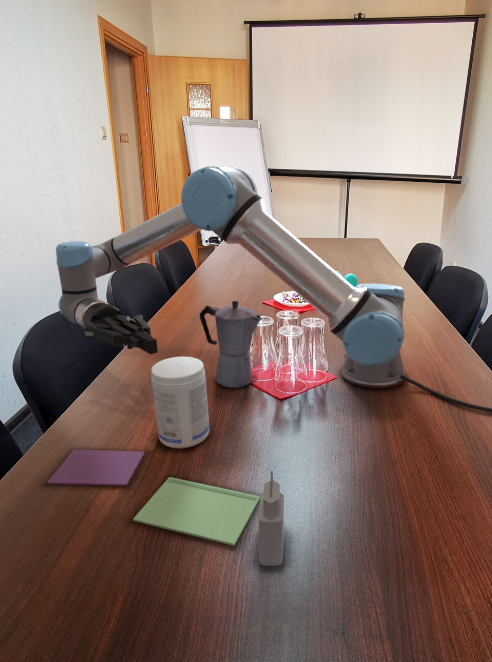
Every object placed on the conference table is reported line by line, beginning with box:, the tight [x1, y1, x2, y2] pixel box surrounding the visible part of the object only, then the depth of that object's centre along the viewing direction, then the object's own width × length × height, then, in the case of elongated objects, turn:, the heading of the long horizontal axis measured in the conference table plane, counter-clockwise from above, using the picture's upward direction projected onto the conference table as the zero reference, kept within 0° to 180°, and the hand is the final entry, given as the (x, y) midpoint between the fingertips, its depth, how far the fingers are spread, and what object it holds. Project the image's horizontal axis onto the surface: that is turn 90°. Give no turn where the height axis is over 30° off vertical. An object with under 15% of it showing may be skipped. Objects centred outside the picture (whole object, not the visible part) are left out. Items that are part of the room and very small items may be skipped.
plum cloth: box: [46, 449, 146, 487], centre depth 78 cm, size 13×9×1 cm
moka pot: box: [199, 300, 263, 389], centre depth 107 cm, size 10×15×20 cm, turn 78°
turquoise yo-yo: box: [335, 270, 359, 287], centre depth 179 cm, size 10×10×10 cm
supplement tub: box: [150, 356, 211, 449], centre depth 85 cm, size 10×10×15 cm
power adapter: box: [257, 470, 285, 567], centre depth 60 cm, size 3×5×12 cm, turn 179°
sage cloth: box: [132, 476, 261, 547], centre depth 69 cm, size 16×10×1 cm, turn 74°
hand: (153, 346), depth 88 cm, fingers closed
